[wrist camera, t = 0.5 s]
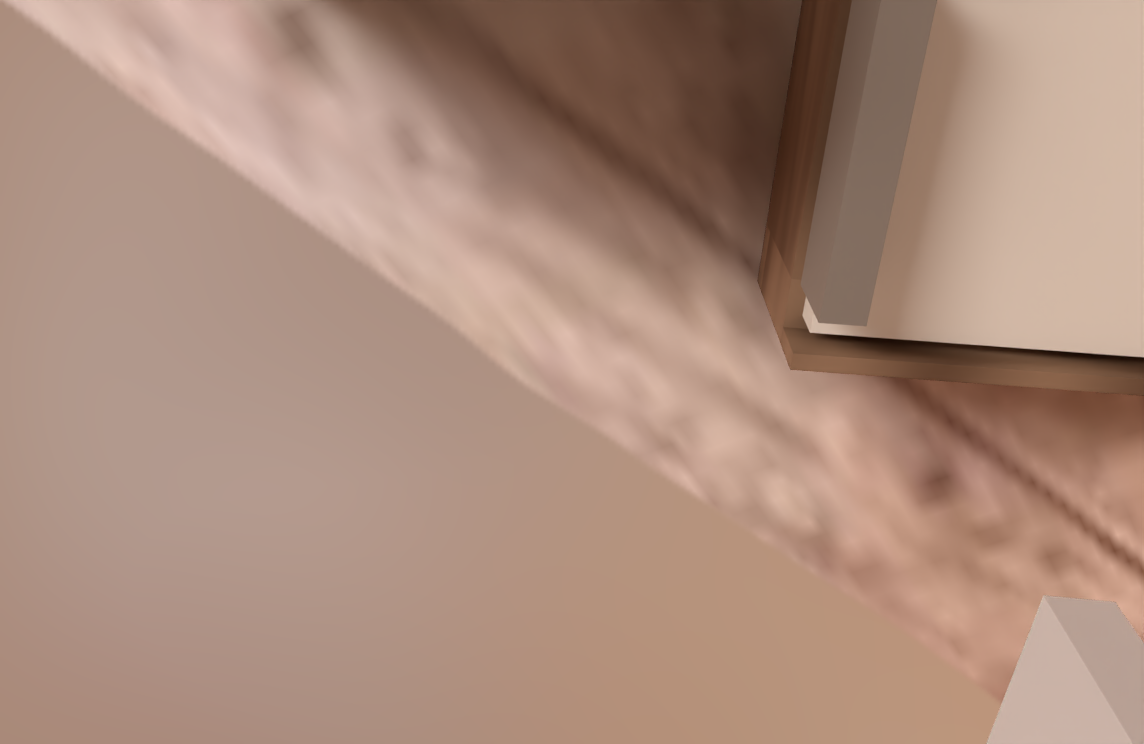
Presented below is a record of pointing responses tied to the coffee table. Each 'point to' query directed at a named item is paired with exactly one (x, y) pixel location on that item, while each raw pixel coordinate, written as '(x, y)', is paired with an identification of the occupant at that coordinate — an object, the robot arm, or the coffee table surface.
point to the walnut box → (790, 235)
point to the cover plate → (985, 177)
